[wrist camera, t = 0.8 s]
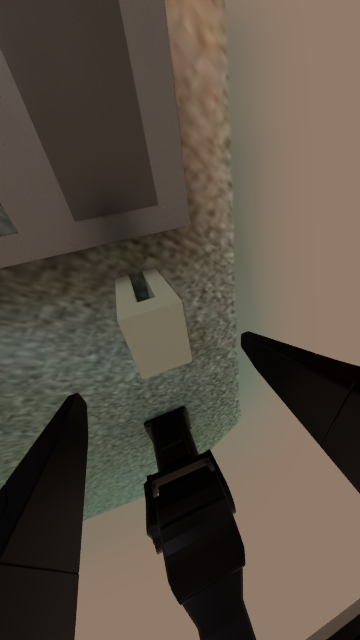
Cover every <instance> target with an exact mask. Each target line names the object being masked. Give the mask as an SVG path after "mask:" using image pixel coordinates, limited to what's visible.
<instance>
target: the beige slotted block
mask: <svg viewBox="0 0 360 640" xmlns="http://www.w3.org/2000/svg"><path fill="white" fill-rule="evenodd" d="M142 273H143V277H144V280H145V284H146V287H147V291H148V294H149V298H150V299H148V300H144V301H141V302H137V299H136V296H135V293H134V290H133V287H132V284H131V280H130V277H129V275H126V276H123V277H119V278H115V289H116V308H117V322H118V324H119V326H120V329H121V331H122V333H123V336H124V338H125V340H126V343H127V345H128V347H129V350H130V352H131V354H132V357H133V359H134V361H135V364H136V366H137V368H138V371H139V373H140V375H141V378H142V380H144V379H146V378H149V377H152V376H155V375H157V374H160V373H163V372H165V371H168V370H171V369H173V368H176V367H179V366H181V365H184V364H187V363H190V362H192V356H191V350H190V345H189V339H188V333H187V328H186V322H185V317H184V311H183V305H182V301H181V300H180V298H179V297H178V296H177V295H176V293H175V292H174V291H173V290H172V288H171V287H170V286H169V285H168V284H167V282H166V281H165V280H164V279H163V277H162V276H161V275H160V274H159V272H158V271H157V270H156V269H155V268H153V269H149V270H146V271H142Z"/></svg>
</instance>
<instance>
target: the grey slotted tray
mask: <svg viewBox="0 0 360 640" xmlns="http://www.w3.org/2000/svg"><path fill="white" fill-rule="evenodd" d="M0 203H1V205H2V207H3V208H4V210H5V212H6V213H7V215H8V217H9V218H10V220H11V222H12V223H13V225H14V227H15V228H16V230H17V232H18V233H15V234H9V235H4V236H0V268H3V267H8V266H12V265H17V264H21V263H25V262H30V261H34V260H39V259H43V258H48V257H52V256H56V255H61V254H65V253H70V252H74V251H79V250H83V249H88V248H92V247H96V246H101V245H105V244H110V243H114V242H119V241H123V240H127V239H132V238H136V237H141V236H145V235H150V234H154V233H158V232H163V231H167V230H172V229H176V228H181V227H185V226H189V225H191V224H190V215H189V207H188V198H187V189H186V181H185V172H184V164H183V155H182V147H181V138H180V129H179V121H178V112H177V104H176V95H175V87H174V78H173V69H172V61H171V52H170V44H169V35H168V27H167V18H166V9H165V1H164V0H0Z"/></svg>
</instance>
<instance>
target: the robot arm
mask: <svg viewBox="0 0 360 640" xmlns="http://www.w3.org/2000/svg"><path fill="white" fill-rule="evenodd" d="M241 347H242V349H243V350H244V352H245V353H246V355H247V356H248V357H249V359H250V361H251V362H252V363H253V365H254V367H255V368H256V369H257V371H258V372H259V373H260V374H261V376H262V377H263V378H264V379H265V380H266V381H267V383H268V384H269V385H270V386H271V387H272V389H273V390H274V391H275V392H276V394H277V395H278V396H279V397H280V398H281V400H282V401H283V402H284V403H285V404H286V406H287V407H288V408H289V409H290V410H291V412H292V413H293V414H294V415H295V416H296V418H297V419H298V420H299V421H300V422H301V424H302V425H303V426H304V427H305V428H306V430H307V431H308V432H309V433H310V434H311V436H312V437H313V438H314V439H315V440H316V442H317V443H318V444H319V445H320V447H321V448H322V449H323V450H324V451H325V453H326V454H327V455H328V456H329V457H330V459H331V460H332V461H333V462H334V463H335V465H336V466H337V467H338V468H339V469H340V470H341V472H342V473H343V474H344V475H345V477H346V478H347V479H348V480H349V481H350V482H351V484H352V485H353V486H354V487H355V488H356V490H357V491H358V492H359V493H360V366H356V365H352V364H349V363H345V362H342V361H338V360H335V359H332V358H329V357H325V356H322V355H319V354H315V353H313V352H310V351H307V350H304V349H301V348H298V347H295V346H292V345H289V344H286V343H282V342H279V341H276V340H273V339H270V338H267V337H264V336H261V335H258V334H255V333H252V332H249V331H248V332H245V333H243V334H241ZM144 427H145V429H146V431H147V433H148V434H149V436H150V438H151V440H152V442H153V445H154V450H155V456H156V461H157V467H158V472H157V473H155V474H153V475H151V474H150V475H148V476H147V481H146V482H145V483H144V490H145V499H146V529H147V535H148V536H149V537H150V538H151V539H152V540H153V544H154V545H155V548H156V552H157V554H159V553H161V552H163V556H164V561H165V566H166V572H167V577H168V582H169V585H170V587H171V590H172V592H173V594H174V595H175V597H176V599H177V601H178V603H179V604H180V605H183V607H184V608H185V610H186V611H187V613H188V614H189V616H190V617H191V619H192V620H193V622H194V624H195V625H196V627H197V629H198V631H199V636H200V640H256V637H255V634H254V632H253V628H252V625H251V622H250V619H249V616H248V613H247V610H246V607H245V604H244V601H243V567H244V566H245V551H244V545H243V542H242V539H241V536H240V533H239V530H238V527H237V525H236V522H235V519H234V516H233V514H234V513H236V509H235V504H234V501H233V498H232V495H231V492H230V490H229V487H228V485H227V483H226V481H225V479H224V477H223V474H222V473H221V470H220V469H219V467H218V465H217V463H216V461H215V459H214V457H213V455H212V453H211V451H210V449H209V450H207V451H206V452H204V453H202V454H198V451H197V448H196V445H195V443H194V440H193V437H192V434H191V432H190V429H191V426H190V422H189V419H188V415H187V411H186V408H185V407H180V408H178V409H175V410H173V411H171V412H168V413H166V414H163V415H161V416H159V417H156V418H154V419H151V420H149V421H147V422H145V423H144ZM87 451H88V418H87V404H86V402H85V401H84V399H83V398H82V397H81V396H80V394H79V393H75V394H72V395H70V396H68V397H67V399H66V400H65V401H64V403H63V404H62V405H61V407H60V408H59V410H58V411H57V412H56V414H55V415H54V416H53V418H52V419H51V421H50V422H49V423H48V425H47V426H46V427H45V429H44V430H43V432H42V433H41V434H40V436H39V437H38V439H37V440H36V441H35V443H34V444H33V445H32V447H31V448H30V450H29V451H28V452H27V454H26V455H25V456H24V458H23V459H22V461H21V462H20V463H19V465H18V466H17V467H16V469H15V470H14V472H13V473H12V474H11V476H10V477H9V478H8V480H7V481H6V484H5V485H3V487H2V488H1V489H0V640H74V637H75V624H76V623H75V622H76V610H77V595H78V579H79V574H78V573H79V565H80V550H81V536H82V522H83V508H84V493H85V479H86V465H87ZM158 493H159V496H158ZM306 640H360V599H359V600H357V601H356V602H355V603H354V604H352V605H351V606H350V607H348V608H347V609H346V610H344V611H343V612H342V613H340V614H339V615H338V616H337V617H335V618H334V619H332V620H331V621H330V622H329V623H327V624H326V625H325V626H323V627H322V628H321V629H319V630H318V631H317V632H316V633H314V634H313V635H311V636H310V637H309V638H308V639H306Z"/></svg>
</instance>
